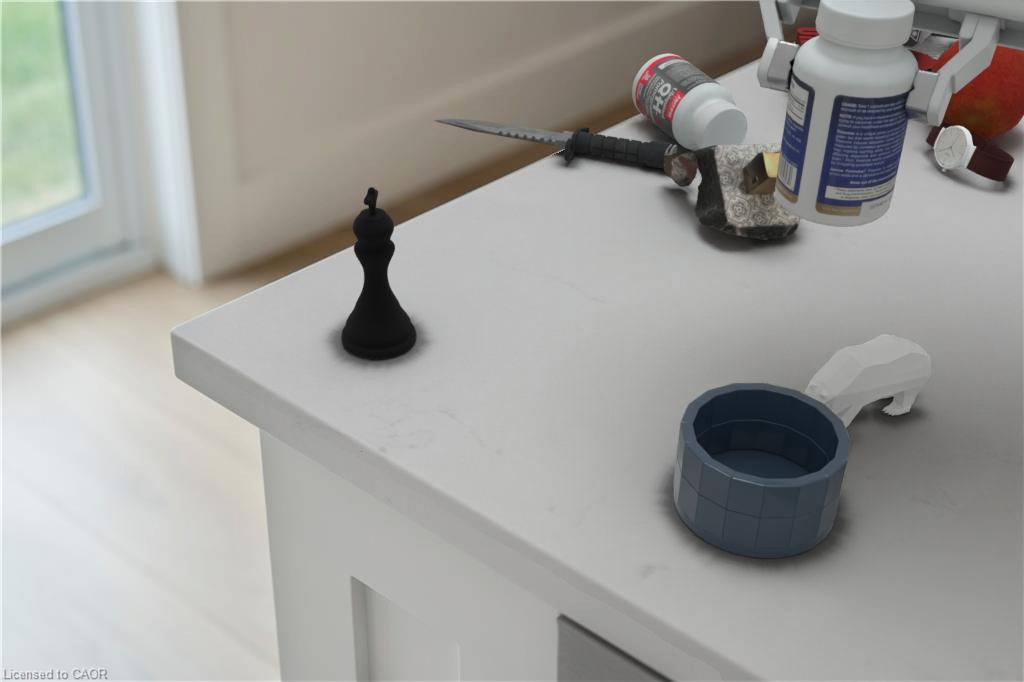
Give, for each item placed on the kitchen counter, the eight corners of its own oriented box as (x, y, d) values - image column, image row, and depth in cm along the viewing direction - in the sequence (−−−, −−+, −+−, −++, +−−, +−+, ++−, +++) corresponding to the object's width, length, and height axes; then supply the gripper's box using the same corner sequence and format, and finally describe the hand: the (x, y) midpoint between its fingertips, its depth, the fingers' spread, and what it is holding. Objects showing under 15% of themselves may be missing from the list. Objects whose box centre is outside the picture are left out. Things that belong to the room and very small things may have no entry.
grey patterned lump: (720, 120, 92) (831, 123, 82) (737, 210, 94) (847, 224, 84) (629, 151, 89) (732, 159, 78) (648, 243, 91) (751, 262, 80)
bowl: (774, 436, 67) (786, 368, 64) (868, 530, 61) (885, 459, 58) (644, 474, 64) (651, 405, 62) (729, 577, 58) (740, 505, 56)
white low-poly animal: (925, 409, 69) (943, 340, 67) (812, 450, 66) (826, 380, 63) (894, 385, 71) (911, 317, 68) (783, 425, 68) (796, 355, 65)
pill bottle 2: (907, 199, 59) (952, -1, 54) (859, 242, 56) (902, 33, 50) (804, 167, 62) (837, -27, 57) (752, 206, 59) (782, 3, 53)
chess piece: (330, 353, 73) (318, 200, 67) (356, 313, 76) (347, 165, 71) (403, 364, 72) (397, 211, 66) (425, 324, 75) (421, 174, 70)
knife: (448, 120, 101) (422, 142, 97) (448, 97, 100) (422, 118, 96) (680, 157, 95) (663, 182, 91) (682, 134, 94) (665, 157, 90)
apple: (999, 71, 91) (1015, 2, 95) (901, 101, 96) (920, 35, 100) (1044, 143, 95) (1058, 74, 99) (947, 168, 100) (963, 102, 104)
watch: (998, 144, 89) (967, 187, 90) (1034, 166, 91) (1003, 208, 93) (929, 103, 95) (901, 145, 96) (965, 126, 97) (937, 166, 98)
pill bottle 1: (627, 62, 97) (693, 111, 90) (686, 43, 99) (756, 89, 91) (631, 124, 101) (695, 175, 93) (689, 104, 102) (756, 153, 95)
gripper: (722, -243, 58) (617, 23, 57) (1198, -188, 50) (1091, 124, 49) (744, -160, 64) (650, 82, 62) (1175, -99, 56) (1078, 182, 54)
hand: (846, 101), depth 55 cm, fingers closed on pill bottle 2, 5 cm apart
